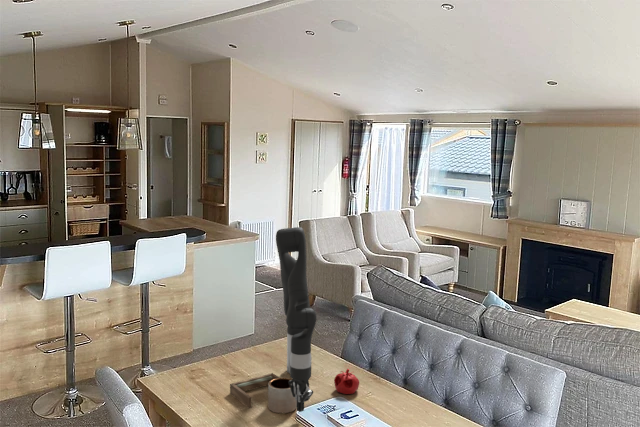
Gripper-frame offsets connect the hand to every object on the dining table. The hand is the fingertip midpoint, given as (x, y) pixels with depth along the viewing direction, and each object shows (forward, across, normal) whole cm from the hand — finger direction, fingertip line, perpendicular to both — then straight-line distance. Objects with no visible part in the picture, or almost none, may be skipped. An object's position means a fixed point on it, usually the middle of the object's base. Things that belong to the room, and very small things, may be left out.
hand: (300, 410), depth 202 cm
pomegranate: (+4, +10, -29) cm, 31 cm away
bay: (+4, +25, +1) cm, 26 cm away
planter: (+4, +12, 0) cm, 12 cm away
